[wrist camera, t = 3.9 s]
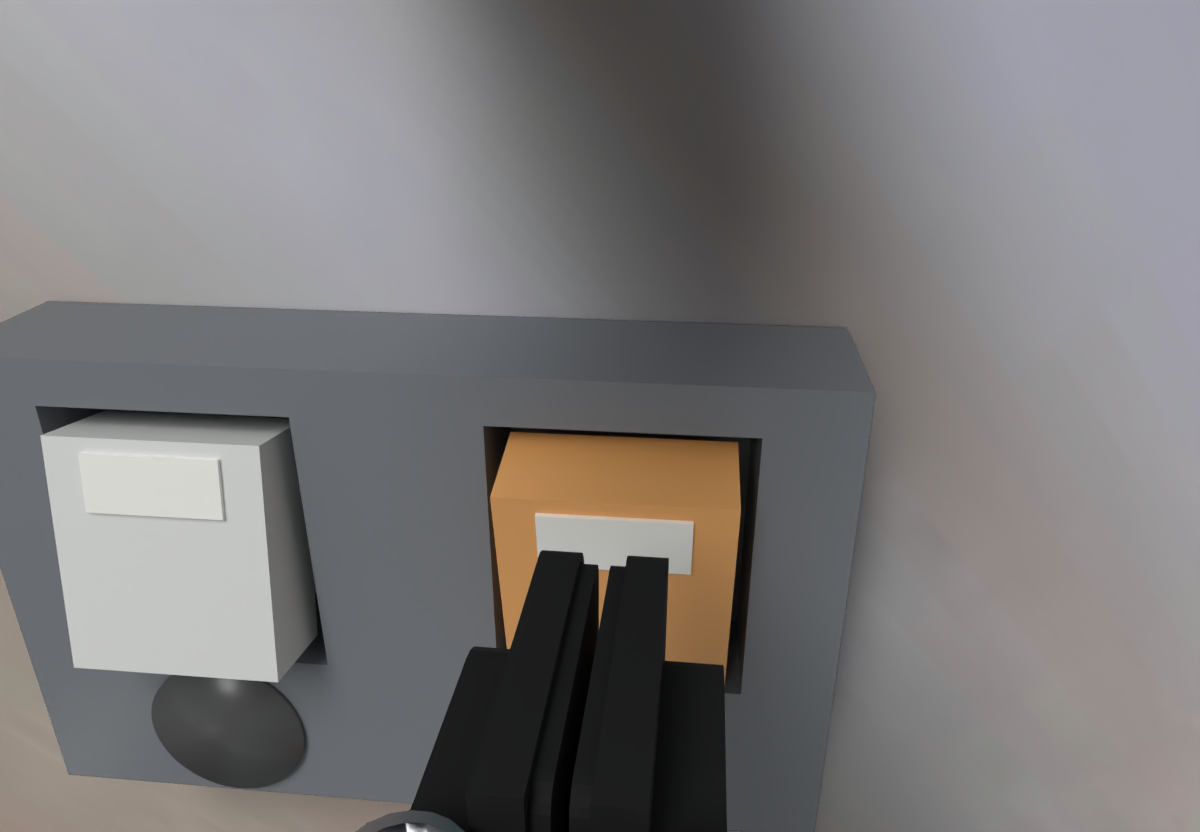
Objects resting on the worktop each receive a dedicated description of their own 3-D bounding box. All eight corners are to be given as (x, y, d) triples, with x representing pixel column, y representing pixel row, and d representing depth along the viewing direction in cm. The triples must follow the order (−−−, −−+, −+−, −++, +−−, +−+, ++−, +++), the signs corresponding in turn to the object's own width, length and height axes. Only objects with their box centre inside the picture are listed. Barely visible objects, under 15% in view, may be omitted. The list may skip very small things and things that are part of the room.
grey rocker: (317, 634, 20) (275, 684, 18) (131, 622, 21) (70, 670, 19) (302, 418, 19) (256, 447, 17) (105, 410, 19) (37, 436, 17)
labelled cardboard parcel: (722, 624, 20) (723, 701, 18) (526, 611, 20) (509, 686, 19) (737, 442, 17) (741, 514, 15) (510, 431, 18) (488, 500, 16)
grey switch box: (798, 725, 24) (814, 842, 20) (147, 678, 25) (64, 779, 22) (846, 327, 19) (877, 395, 16) (48, 301, 21) (-76, 357, 17)
